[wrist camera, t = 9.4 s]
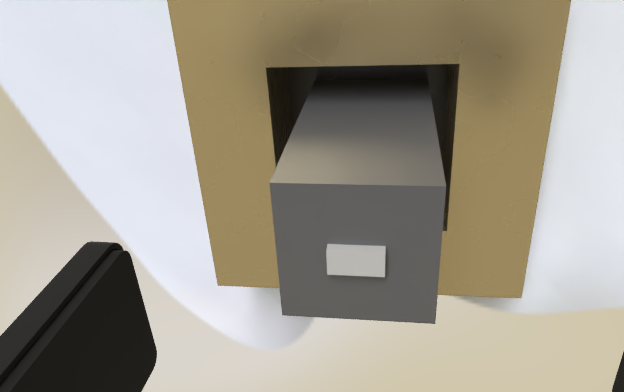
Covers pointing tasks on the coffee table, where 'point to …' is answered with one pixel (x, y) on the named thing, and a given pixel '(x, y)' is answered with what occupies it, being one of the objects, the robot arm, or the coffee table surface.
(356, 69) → the socket plate
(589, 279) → the coffee table surface
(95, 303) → the robot arm
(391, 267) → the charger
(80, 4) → the coffee table surface
